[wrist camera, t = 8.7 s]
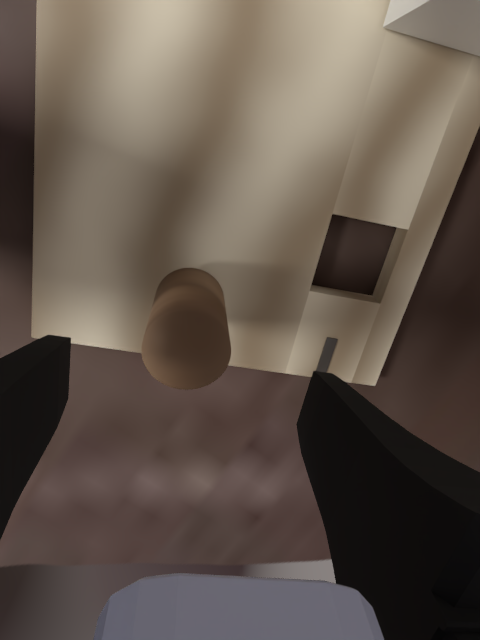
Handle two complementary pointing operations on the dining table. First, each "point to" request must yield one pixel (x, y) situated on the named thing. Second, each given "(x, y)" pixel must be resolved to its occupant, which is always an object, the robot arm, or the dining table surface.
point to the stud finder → (438, 22)
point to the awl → (187, 331)
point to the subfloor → (239, 168)
